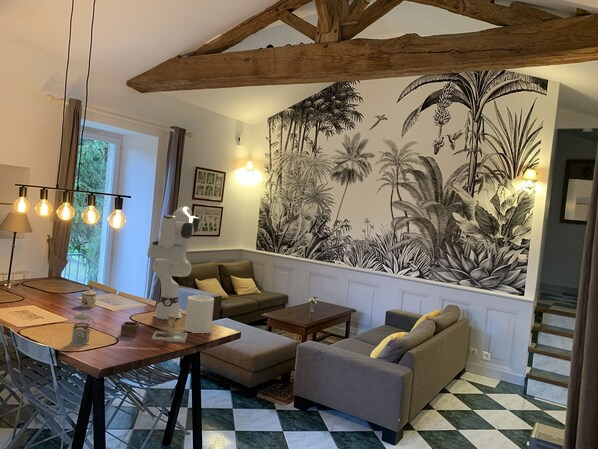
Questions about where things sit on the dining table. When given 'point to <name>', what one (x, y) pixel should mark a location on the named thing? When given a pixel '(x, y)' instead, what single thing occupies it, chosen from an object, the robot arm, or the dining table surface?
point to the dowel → (171, 326)
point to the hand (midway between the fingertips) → (164, 266)
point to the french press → (81, 330)
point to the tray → (177, 338)
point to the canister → (199, 314)
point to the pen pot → (129, 329)
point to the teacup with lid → (88, 299)
